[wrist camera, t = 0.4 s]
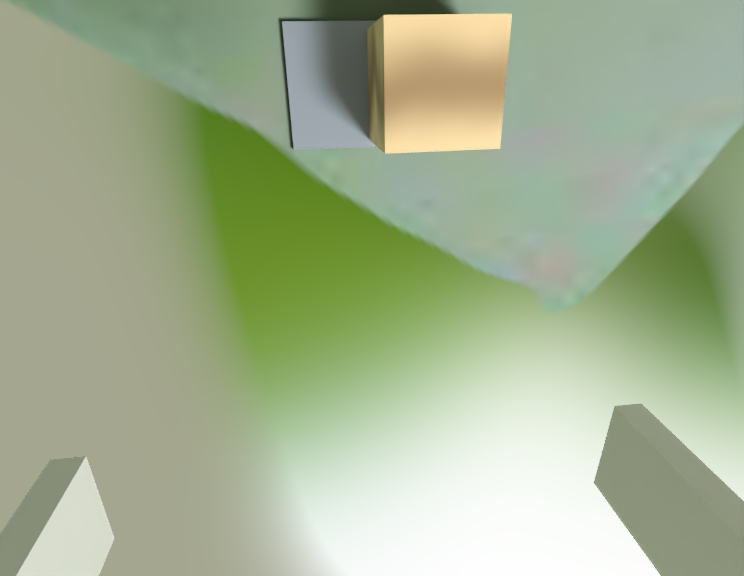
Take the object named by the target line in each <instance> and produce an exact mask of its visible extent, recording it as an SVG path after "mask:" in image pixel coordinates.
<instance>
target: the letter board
mask: <svg viewBox="0 0 744 576" xmlns="http://www.w3.org/2000/svg"><path fill="white" fill-rule="evenodd" d="M376 21H377V20H373V21H282V27H283V38H284V49H285V61H286V72H287V83H288V94H289V105H290V116H291V127H292V138H293V149H294V150H314V149H338V148H362V147H377V146H376V145H375V144H374V143H373V142H371V141H370V130H369V88H368V46H367V29H368V28H369V27H370V26H371V25H373V24H374V23H375V22H376Z"/></svg>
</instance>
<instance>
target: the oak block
mask: <svg viewBox="0 0 744 576" xmlns="http://www.w3.org/2000/svg"><path fill="white" fill-rule="evenodd" d="M511 20H512V14H421V15H383V16H382V17H381V18H379V19H378V20H377V21H376V22H375V23H374V24H373V25H371V26H370V27H369V28H368V29H367V46H368V88H369V130H370V141H371V142H373V143H374V144H375V145H376V146H377V147H378V148H379V149H380V150H382V151H383V152H384V153H385V154H386V153H409V152H432V151H455V150H478V149H500V142H501V131H502V120H503V109H504V98H505V87H506V76H507V65H508V53H509V42H510V31H511Z"/></svg>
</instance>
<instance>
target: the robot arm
mask: <svg viewBox="0 0 744 576" xmlns="http://www.w3.org/2000/svg"><path fill="white" fill-rule="evenodd" d="M594 483H595V485H596V486H597V487H598V489H599V490H600V492H601V493H602V494H603V496H604V497H605V499H606V500H607V501H608V503H609V504H610V506H611V507H612V508H613V510H614V511H615V512H616V514H617V515H618V517H619V518H620V519H621V521H622V522H623V524H624V525H625V526H626V528H627V529H628V530H629V532H630V533H631V535H632V536H633V537H634V539H635V540H636V542H637V543H638V544H639V546H640V547H641V548H642V550H643V551H644V553H645V554H646V555H647V557H648V558H649V560H650V561H651V562H652V564H653V565H654V567H655V568H656V569H657V571H658V572H659V573H660V575H661V576H744V501H743V500H742V499H741V498H739V497H738V496H737V495H736V494H735V493H734V492H733V491H732V490H731V489H730V488H729V487H728V486H727V485H726V484H725V483H724V482H723V481H722V480H721V479H720V478H719V477H717V476H716V475H715V474H714V473H713V472H712V471H711V470H710V469H709V468H708V467H707V466H706V465H705V464H704V463H703V462H702V461H701V460H700V459H699V458H698V457H697V456H696V455H695V454H693V453H692V452H691V451H690V450H689V449H688V448H687V447H686V446H685V445H684V444H683V443H682V442H681V441H680V440H679V439H678V438H677V437H676V436H675V435H674V434H672V433H671V432H670V431H669V430H668V429H667V428H666V427H665V426H664V425H663V424H662V423H661V422H660V421H659V420H658V419H657V418H656V417H655V416H654V415H653V414H652V413H651V412H650V411H648V410H647V409H646V408H645V407H644V406H643V405H642V404H632V405H623V406H615V407H614V411H613V414H612V418H611V422H610V426H609V429H608V433H607V437H606V440H605V444H604V448H603V451H602V455H601V459H600V463H599V466H598V470H597V473H596V477H595V481H594ZM113 540H114V536H113V533H112V530H111V527H110V524H109V521H108V519H107V516H106V513H105V510H104V507H103V504H102V501H101V498H100V495H99V492H98V490H97V487H96V484H95V481H94V478H93V475H92V472H91V469H90V466H89V464H88V461H87V458H86V457H74V458H64V459H54V460H50V461H49V463H48V464H47V465H46V467H45V468H44V470H43V471H42V473H41V474H40V476H39V477H38V479H37V480H36V482H35V483H34V485H33V486H32V488H31V489H30V490H29V492H28V493H27V495H26V496H25V498H24V499H23V501H22V503H21V504H20V505H19V507H18V508H17V510H16V511H15V513H14V514H13V516H12V517H11V519H10V520H9V522H8V523H7V525H6V526H5V528H4V529H3V530H2V532H1V534H0V576H99V574H100V571H101V569H102V566H103V564H104V562H105V559H106V557H107V554H108V552H109V550H110V547H111V545H112V543H113Z"/></svg>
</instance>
